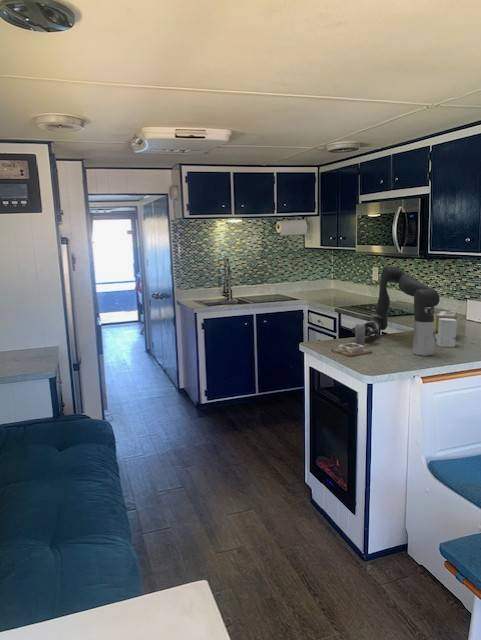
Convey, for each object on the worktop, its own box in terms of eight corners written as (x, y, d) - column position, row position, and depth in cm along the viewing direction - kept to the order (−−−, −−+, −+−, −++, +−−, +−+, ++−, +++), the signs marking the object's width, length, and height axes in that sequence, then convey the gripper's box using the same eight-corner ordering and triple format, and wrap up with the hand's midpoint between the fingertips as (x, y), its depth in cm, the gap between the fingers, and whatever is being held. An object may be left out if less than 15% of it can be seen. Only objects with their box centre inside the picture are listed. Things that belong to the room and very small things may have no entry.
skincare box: (439, 346, 258) (441, 320, 255) (436, 344, 264) (438, 317, 261) (455, 347, 257) (457, 320, 254) (452, 344, 263) (454, 318, 260)
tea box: (438, 334, 288) (440, 310, 285) (456, 336, 283) (458, 311, 280) (434, 339, 275) (436, 314, 272) (453, 341, 270) (455, 315, 267)
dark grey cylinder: (366, 346, 262) (367, 325, 259) (359, 347, 259) (360, 326, 257) (360, 344, 266) (360, 323, 264) (353, 346, 264) (353, 324, 261)
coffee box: (428, 335, 286) (429, 308, 283) (417, 333, 290) (418, 307, 287) (432, 332, 293) (434, 306, 290) (422, 331, 297) (423, 305, 294)
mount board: (372, 353, 248) (372, 346, 247) (350, 357, 241) (350, 350, 240) (352, 347, 261) (353, 341, 260) (331, 350, 254) (331, 344, 253)
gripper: (358, 320, 280) (349, 325, 266) (382, 322, 272) (374, 327, 259) (358, 333, 281) (348, 338, 267) (382, 335, 273) (374, 341, 260)
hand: (361, 333), depth 263 cm, fingers open, 8 cm apart
